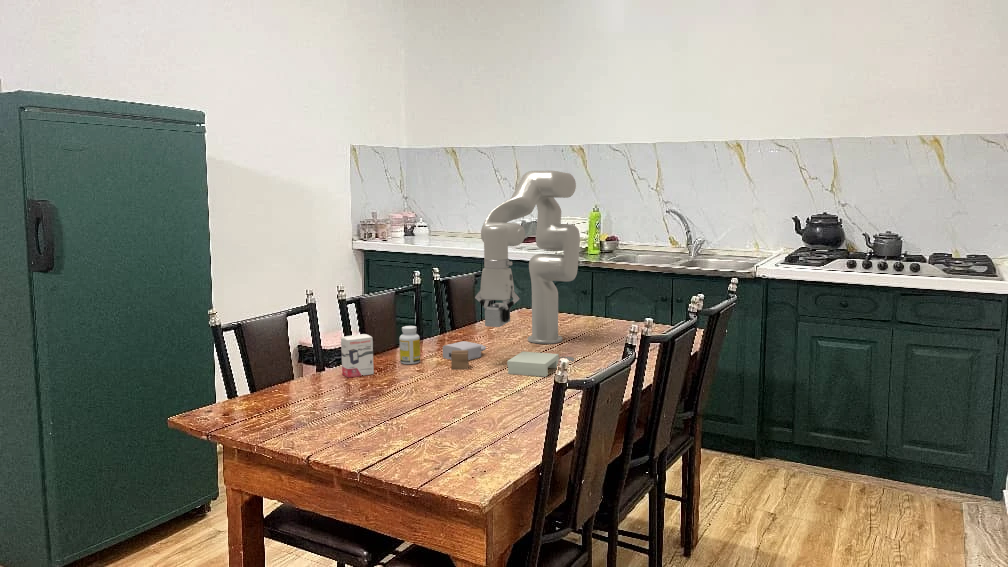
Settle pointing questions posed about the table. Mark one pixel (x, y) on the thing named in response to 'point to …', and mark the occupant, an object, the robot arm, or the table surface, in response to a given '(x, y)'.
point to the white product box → (357, 355)
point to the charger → (472, 348)
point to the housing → (495, 315)
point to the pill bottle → (409, 345)
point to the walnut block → (459, 359)
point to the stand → (532, 363)
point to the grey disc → (569, 358)
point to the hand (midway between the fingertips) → (497, 320)
